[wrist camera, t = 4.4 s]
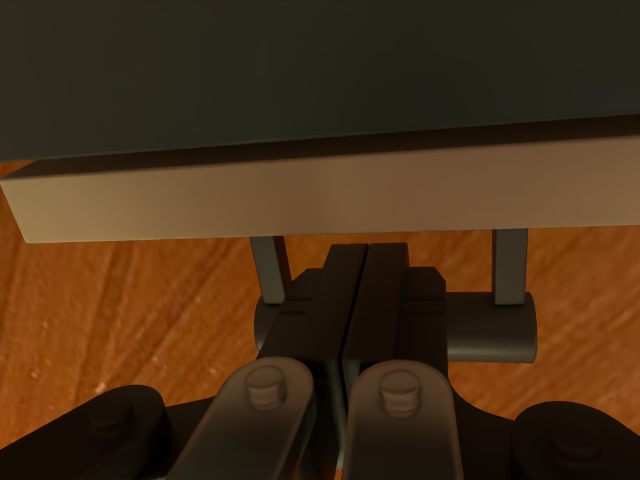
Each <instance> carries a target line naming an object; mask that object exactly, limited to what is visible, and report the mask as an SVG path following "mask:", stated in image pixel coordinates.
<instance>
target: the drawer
mask: <svg viewBox="0 0 640 480" xmlns="http://www.w3.org/2000/svg"><path fill="white" fill-rule="evenodd" d="M0 185H1V187H2V190H3V192H4V194H5V196H6V199H7V201H8V203H9V206H10V208H11V210H12V212H13V215H14V217H15V219H16V222H17V224H18V226H19V228H20V231H21V233H22V235H23V238H24V240H25V242H26V243H55V242H88V241H121V240H154V239H187V238H219V237H249V238H250V242H251V247H252V251H253V256H254V261H255V265H256V270H257V274H258V279H259V283H260V288H261V292H262V295H261V297H260V298H259V300H258V303H257V306H256V310H255V317H254V336H255V342H256V346H257V349H258V351H260V349H261V347H262V345H263V343H264V340H265V338H266V336H267V334H268V332H269V330H270V327H271V325H272V323H273V321H274V319H275V317H276V315H278V310H279V308H280V306H281V304H282V301H284V297H285V295H286V293H287V291H288V288H289V286H290V284H291V282H292V279H291V274H290V269H289V263H288V258H287V253H286V247H285V242H284V237H283V236H285V235H318V234H351V233H383V232H416V231H449V230H482V229H492V292H446V312H447V342H448V361H460V362H495V363H530V364H532V363H534V361H535V359H536V353H537V322H536V312H535V305H534V301H533V297H532V295H531V293H530V292H525V285H526V264H527V242H528V228H547V227H580V226H613V225H640V114H629V115H616V116H603V117H590V118H577V119H564V120H551V121H538V122H525V123H512V124H499V125H486V126H473V127H460V128H447V129H434V130H421V131H408V132H395V133H382V134H369V135H356V136H343V137H330V138H317V139H304V140H291V141H278V142H265V143H252V144H239V145H226V146H213V147H200V148H187V149H173V150H160V151H147V152H134V153H121V154H108V155H95V156H82V157H69V158H56V159H43V160H37V161H34V162H32V163H30V164H28V165H26V166H24V167H22V168H20V169H18V170H16V171H14V172H12V173H10V174H8V175H6V176H4V177H2V178H0Z"/></svg>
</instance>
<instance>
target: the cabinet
mask: <svg viewBox="0 0 640 480" xmlns="http://www.w3.org/2000/svg"><path fill="white" fill-rule="evenodd" d="M629 114H640V0H0V163H4V162H17V161H30V160H43V159H56V158H69V157H82V156H95V155H108V154H121V153H134V152H147V151H160V150H173V149H187V148H200V147H213V146H226V145H239V144H252V143H265V142H278V141H291V140H304V139H317V138H330V137H343V136H356V135H369V134H382V133H395V132H408V131H421V130H434V129H447V128H460V127H473V126H486V125H499V124H512V123H525V122H538V121H551V120H564V119H577V118H590V117H603V116H616V115H629Z"/></svg>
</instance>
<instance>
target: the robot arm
mask: <svg viewBox="0 0 640 480" xmlns="http://www.w3.org/2000/svg"><path fill="white" fill-rule="evenodd" d="M336 469H340V470H342V477H341V480H640V436H639V435H637V434H636V433H634V432H633V431H631V430H630V429H629V428H627V427H626V426H624V425H623V424H621V423H620V422H619V421H617V420H616V419H614V418H612V417H611V416H609V415H607V414H606V413H604V412H602V411H600V410H597V409H595V408H592V407H589V406H587V405H583V404H579V403H574V402H566V401H551V402H543V403H540V404H536V405H534V406H531V407H529V408H527V409H526V410H524V411H523V412H521V413H520V414H519V416H518V417H517V418H516V419H515V421H513V420H510V419H506V418H503V417H500V416H496V415H493V414H490V413H487V412H485V411H482V410H480V409H478V408H476V407H474V406H472V405H471V404H469V403H468V402H466V401H465V400H464V399H463V398H461V397H460V396H459V395H458V394H457V392H456V391H455V390H454V389H453V387H452V385H451V384H450V381H449V379H448V342H447V312H446V281H445V280H444V278H443V277H442V276H441V275H440V273H439V272H438V271H437V270H436V268H435V267H409V254H408V245H407V243H373V244H370V246H369V244H333V245H332V246H331V248H330V251H329V253H328V256H327V258H326V261H325V264H324V266H323V268H312V269H306V270H305V271H304V272H303V273H302V274H300V275H299V276H298V277H297V278H296V279H295V280H293V281H292V282H291V284H290V286H289V288H288V291H287V293H286V295H285V297H284V301H282V304H281V306H280V308H279V310H278V315H276V317H275V319H274V321H273V323H272V325H271V327H270V330H269V332H268V334H267V336H266V338H265V340H264V343H263V345H262V347H261V349H260V351H259V353H258V356H257V358H256V360H254V361H251V362H249V363H247V364H245V365H243V366H241V367H240V368H238V369H237V370H235V371H234V372H233V373H232V374H231V375H230V376H229V377H228V378H227V379H226V381H225V382H224V383H223V385H222V387H221V388H220V390H219V392H218V393H217V395H215V396H213V397H210V398H206V399H202V400H198V401H193V402H188V403H183V404H179V405H174V406H169V407H165V405H164V402H163V399H162V397H161V395H160V394H159V392H157V391H156V390H155V389H153V388H151V387H148V386H144V385H128V386H122V387H118V388H115V389H112V390H109V391H107V392H105V393H103V394H101V395H99V396H97V397H95V398H93V399H91V400H90V401H88V402H86V403H84V404H82V405H80V406H79V407H77V408H75V409H73V410H71V411H70V412H68V413H66V414H64V415H62V416H61V417H59V418H57V419H55V420H53V421H51V422H50V423H48V424H46V425H44V426H42V427H41V428H39V429H37V430H35V431H33V432H32V433H30V434H28V435H26V436H24V437H22V438H21V439H19V440H17V441H15V442H13V443H12V444H10V445H8V446H6V447H4V448H3V449H1V450H0V480H334V477H335V472H336Z"/></svg>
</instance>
